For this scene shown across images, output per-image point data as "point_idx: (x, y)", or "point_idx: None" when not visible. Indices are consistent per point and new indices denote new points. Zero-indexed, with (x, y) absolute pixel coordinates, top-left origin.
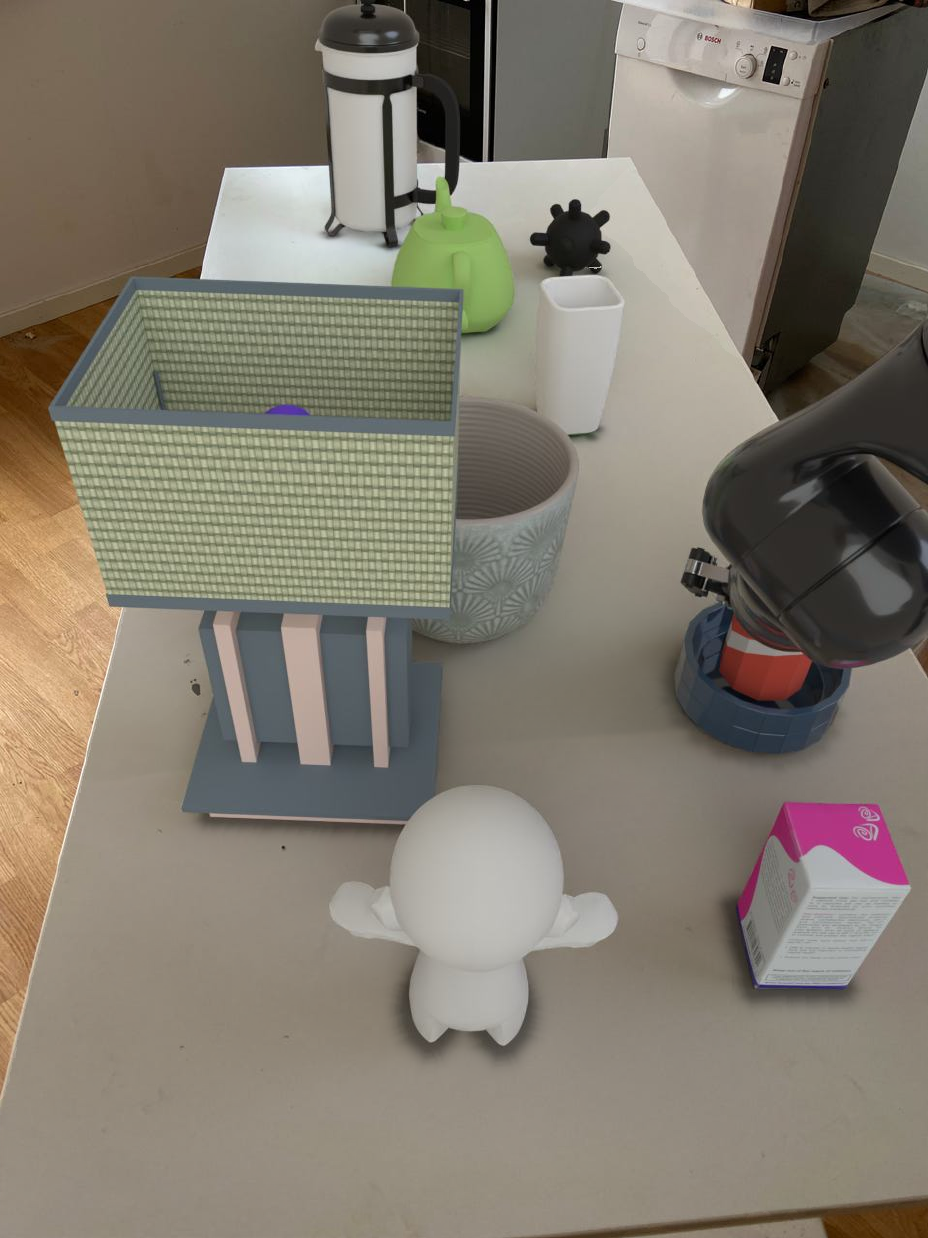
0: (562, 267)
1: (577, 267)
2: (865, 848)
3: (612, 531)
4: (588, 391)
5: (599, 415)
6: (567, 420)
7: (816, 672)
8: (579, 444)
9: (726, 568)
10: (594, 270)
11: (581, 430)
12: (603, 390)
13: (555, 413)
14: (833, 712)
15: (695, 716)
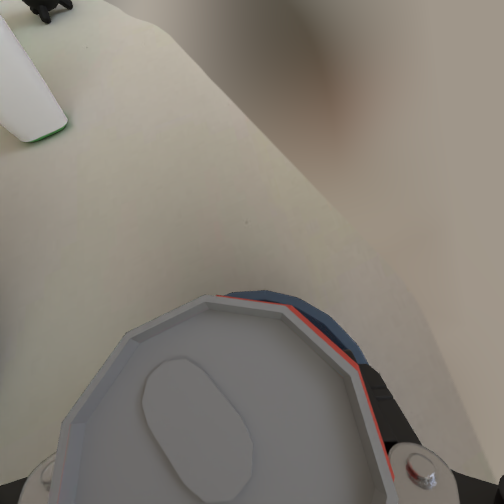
0: (37, 7)
1: (47, 4)
2: None
3: (85, 224)
4: (15, 89)
5: (55, 110)
6: (25, 125)
7: None
8: (55, 142)
9: (23, 490)
10: (67, 6)
11: (50, 129)
12: (32, 83)
13: (5, 122)
14: None
15: None
